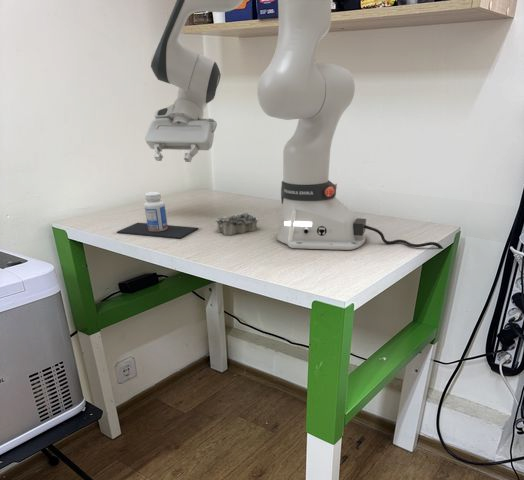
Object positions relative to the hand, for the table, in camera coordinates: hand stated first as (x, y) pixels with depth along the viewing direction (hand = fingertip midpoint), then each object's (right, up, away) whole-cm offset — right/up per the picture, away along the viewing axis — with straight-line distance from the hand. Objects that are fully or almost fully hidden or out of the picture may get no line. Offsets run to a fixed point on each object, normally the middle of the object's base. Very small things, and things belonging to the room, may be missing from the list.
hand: (172, 160), depth 134 cm
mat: (-4, -20, -1) cm, 21 cm away
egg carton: (+18, -20, -2) cm, 28 cm away
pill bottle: (-4, -20, -1) cm, 20 cm away
